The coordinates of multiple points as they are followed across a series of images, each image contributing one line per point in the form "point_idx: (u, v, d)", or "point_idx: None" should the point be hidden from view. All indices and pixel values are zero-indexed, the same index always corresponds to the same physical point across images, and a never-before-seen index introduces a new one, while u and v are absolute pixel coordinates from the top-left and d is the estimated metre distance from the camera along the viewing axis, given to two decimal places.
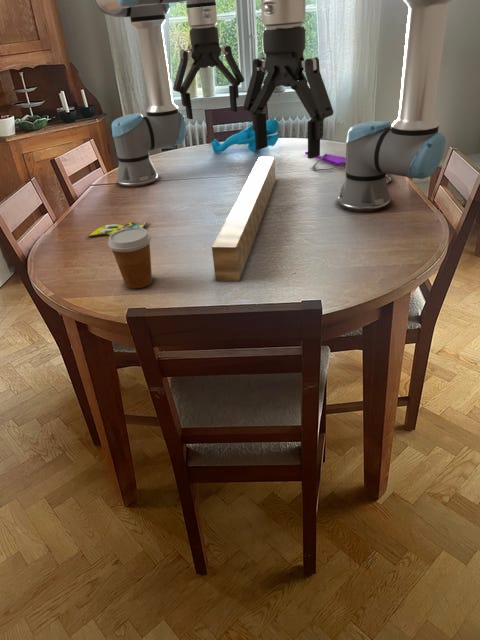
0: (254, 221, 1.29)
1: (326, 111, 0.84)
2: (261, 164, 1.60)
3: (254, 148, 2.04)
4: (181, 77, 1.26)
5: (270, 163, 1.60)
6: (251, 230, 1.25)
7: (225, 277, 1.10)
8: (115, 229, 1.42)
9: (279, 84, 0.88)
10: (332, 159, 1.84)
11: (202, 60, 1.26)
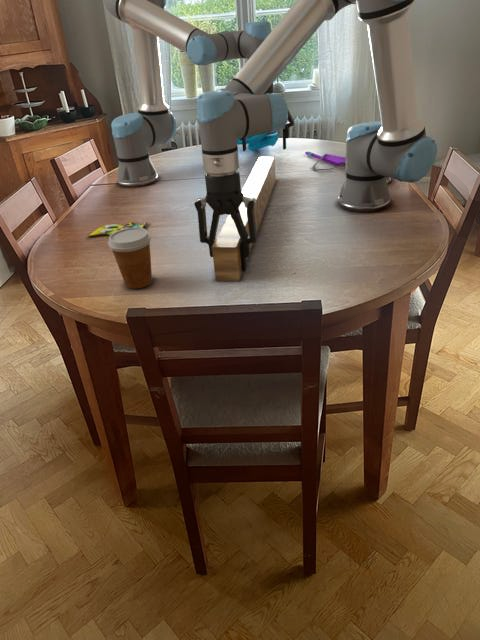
0: None
1: (254, 237, 1.09)
2: (261, 164, 1.60)
3: (254, 148, 2.04)
4: None
5: (270, 163, 1.60)
6: None
7: (225, 277, 1.10)
8: (115, 229, 1.42)
9: (223, 213, 1.06)
10: (332, 159, 1.84)
11: None
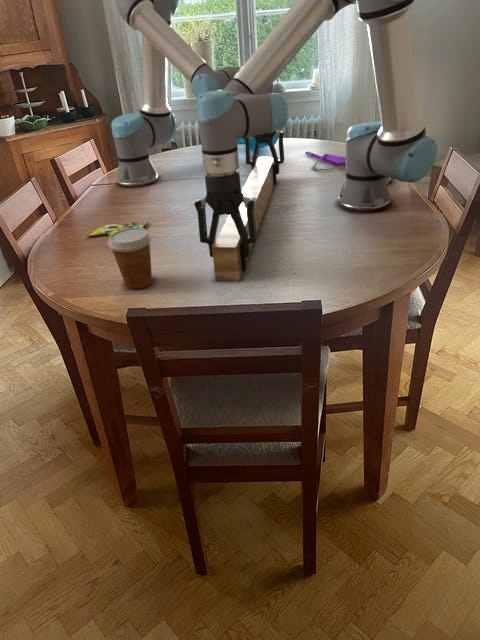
0: None
1: (254, 237, 1.09)
2: (261, 164, 1.60)
3: (254, 148, 2.04)
4: (247, 153, 1.62)
5: (270, 163, 1.60)
6: None
7: (225, 277, 1.10)
8: (115, 229, 1.42)
9: (223, 213, 1.06)
10: (332, 159, 1.84)
11: (258, 138, 1.58)
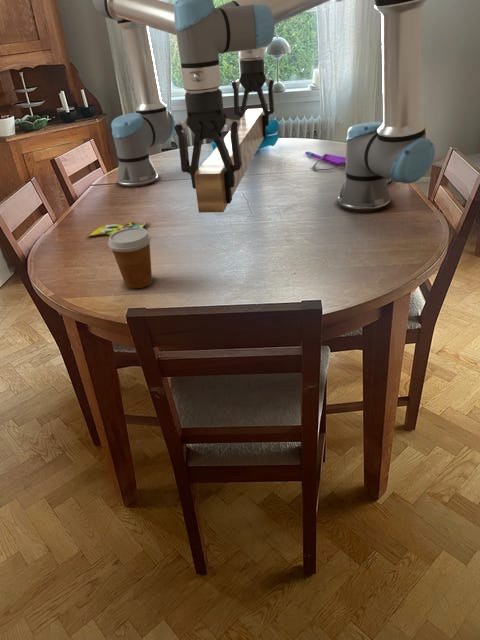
0: (241, 160, 1.23)
1: (239, 164, 1.03)
2: (250, 114, 1.54)
3: None
4: (235, 103, 1.56)
5: (259, 113, 1.54)
6: None
7: (208, 208, 1.05)
8: (115, 229, 1.42)
9: (205, 137, 1.00)
10: (332, 159, 1.84)
11: (247, 86, 1.52)
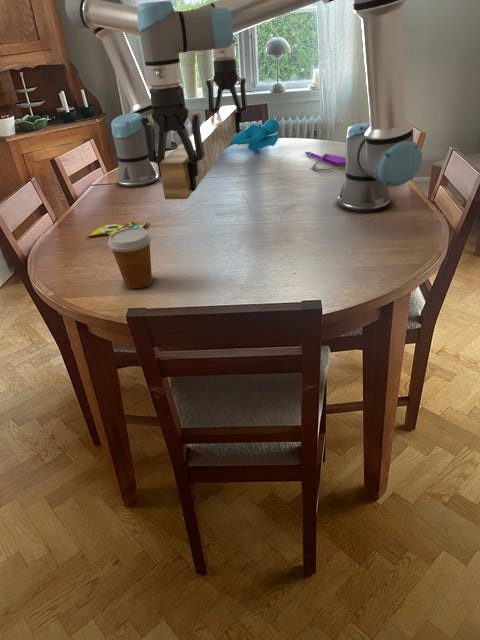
0: (208, 153, 1.32)
1: (201, 154, 1.12)
2: (223, 110, 1.63)
3: (254, 148, 2.04)
4: (210, 100, 1.65)
5: (232, 110, 1.63)
6: (204, 159, 1.28)
7: (174, 195, 1.13)
8: (115, 229, 1.42)
9: (169, 129, 1.09)
10: (332, 159, 1.84)
11: (220, 85, 1.61)
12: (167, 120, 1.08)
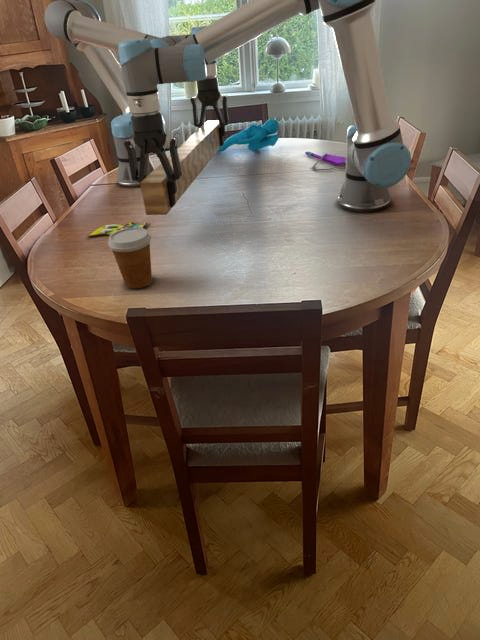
0: (189, 169, 1.43)
1: None
2: (207, 126, 1.74)
3: (254, 148, 2.04)
4: (195, 116, 1.76)
5: (215, 125, 1.74)
6: (184, 176, 1.38)
7: (154, 211, 1.24)
8: (115, 229, 1.42)
9: (149, 152, 1.20)
10: (332, 159, 1.84)
11: (204, 101, 1.72)
12: (147, 143, 1.19)
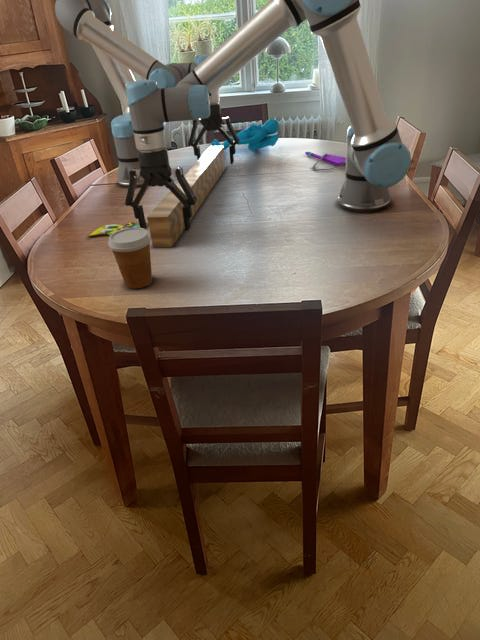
0: None
1: (194, 200, 1.26)
2: (209, 152, 1.79)
3: (254, 148, 2.04)
4: (191, 136, 1.80)
5: (218, 151, 1.79)
6: None
7: (160, 244, 1.29)
8: (115, 229, 1.42)
9: (155, 185, 1.25)
10: (332, 159, 1.84)
11: (205, 126, 1.77)
12: (153, 177, 1.24)
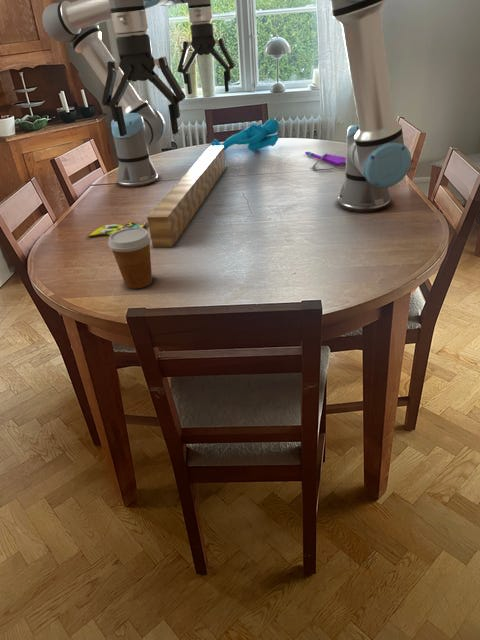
0: (193, 199, 1.48)
1: (182, 95, 1.12)
2: (209, 152, 1.79)
3: (254, 148, 2.04)
4: (181, 61, 1.67)
5: (218, 151, 1.79)
6: (189, 206, 1.43)
7: (160, 244, 1.29)
8: (115, 229, 1.42)
9: (136, 79, 1.11)
10: (332, 159, 1.84)
11: (197, 49, 1.63)
12: (134, 69, 1.10)
